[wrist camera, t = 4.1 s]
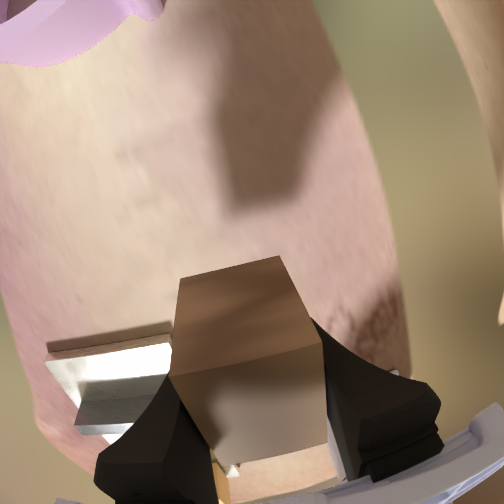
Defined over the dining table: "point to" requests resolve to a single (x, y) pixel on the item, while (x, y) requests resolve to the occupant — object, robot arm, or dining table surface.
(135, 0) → the pink lobed block
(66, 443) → the dining table surface
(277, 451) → the brown wooden block
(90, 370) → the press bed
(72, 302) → the dining table surface
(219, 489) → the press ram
